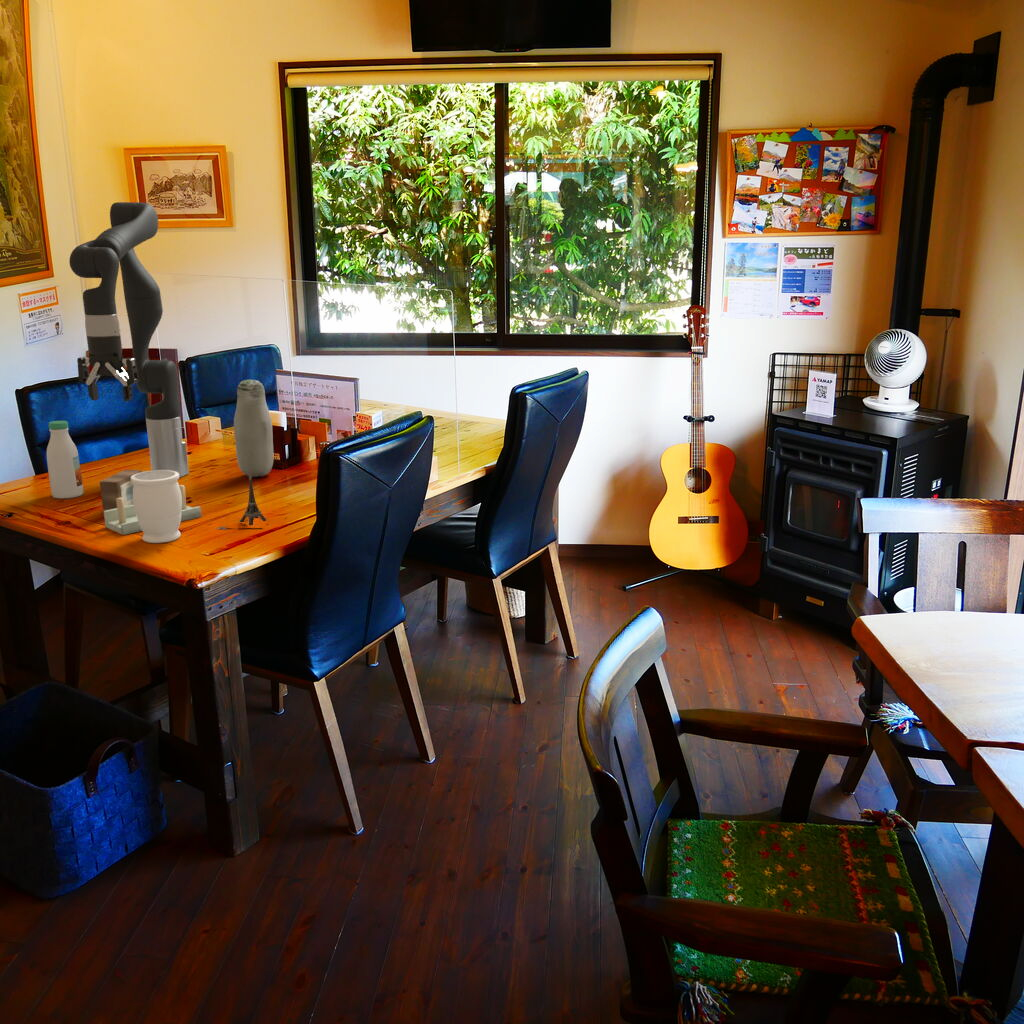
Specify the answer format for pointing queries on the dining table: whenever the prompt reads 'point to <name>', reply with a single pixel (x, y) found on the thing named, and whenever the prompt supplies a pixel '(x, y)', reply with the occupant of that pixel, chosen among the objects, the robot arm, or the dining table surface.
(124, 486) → the wooden block
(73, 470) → the milk bottle
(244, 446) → the grey bottle
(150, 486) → the jar
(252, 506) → the eiffel tower figurine
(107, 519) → the ledge
